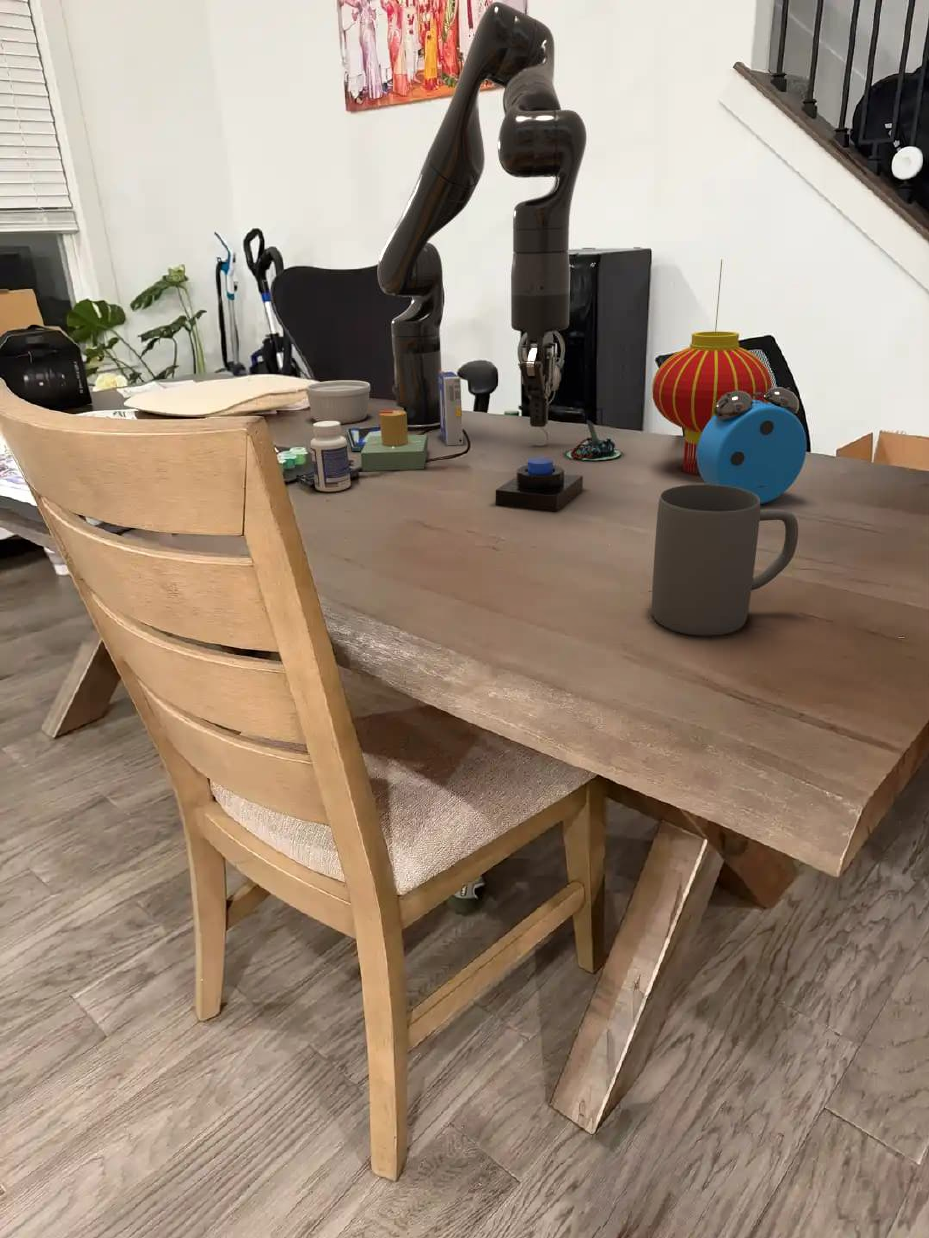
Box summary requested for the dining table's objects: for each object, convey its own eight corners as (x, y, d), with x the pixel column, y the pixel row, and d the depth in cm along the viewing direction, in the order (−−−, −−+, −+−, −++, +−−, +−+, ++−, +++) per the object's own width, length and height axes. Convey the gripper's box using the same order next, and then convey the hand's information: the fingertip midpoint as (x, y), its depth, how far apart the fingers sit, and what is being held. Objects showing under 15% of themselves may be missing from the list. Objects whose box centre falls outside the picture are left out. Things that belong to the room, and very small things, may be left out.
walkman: (440, 436, 158) (437, 370, 153) (455, 435, 158) (452, 369, 153) (447, 446, 151) (444, 377, 146) (463, 444, 151) (460, 376, 146)
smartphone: (352, 447, 148) (346, 428, 162) (352, 453, 149) (346, 433, 162) (393, 444, 150) (384, 425, 163) (394, 449, 150) (385, 430, 163)
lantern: (784, 468, 129) (811, 256, 117) (715, 491, 120) (737, 263, 107) (693, 450, 142) (709, 256, 129) (624, 470, 132) (633, 262, 119)
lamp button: (533, 468, 121) (532, 456, 120) (556, 470, 119) (556, 458, 118) (523, 475, 118) (523, 462, 117) (547, 477, 116) (547, 464, 116)
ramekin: (377, 412, 182) (375, 379, 179) (365, 425, 170) (363, 390, 167) (317, 413, 183) (314, 380, 180) (301, 426, 171) (297, 391, 168)
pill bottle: (357, 484, 130) (351, 420, 125) (338, 494, 125) (332, 428, 121) (328, 481, 132) (321, 418, 128) (308, 490, 127) (300, 426, 123)
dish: (612, 447, 135) (588, 414, 138) (578, 476, 138) (556, 443, 141) (632, 460, 142) (609, 428, 145) (599, 488, 145) (577, 456, 148)
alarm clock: (776, 490, 119) (789, 381, 113) (801, 502, 114) (817, 389, 108) (691, 499, 117) (700, 389, 110) (713, 512, 111) (724, 396, 105)
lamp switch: (525, 484, 126) (525, 458, 125) (582, 490, 123) (583, 463, 121) (495, 505, 117) (495, 477, 116) (556, 512, 114) (556, 483, 112)
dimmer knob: (409, 439, 143) (407, 408, 140) (406, 445, 139) (404, 413, 136) (383, 440, 143) (381, 408, 141) (380, 446, 139) (377, 414, 137)
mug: (669, 641, 77) (679, 515, 72) (638, 602, 86) (644, 487, 81) (810, 628, 79) (829, 504, 74) (765, 591, 87) (780, 477, 82)
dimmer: (370, 453, 148) (369, 435, 146) (427, 451, 147) (426, 433, 146) (362, 471, 137) (360, 451, 135) (423, 469, 137) (422, 450, 135)
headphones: (559, 441, 151) (560, 324, 143) (567, 446, 148) (569, 326, 139) (515, 445, 149) (514, 327, 141) (522, 450, 146) (521, 329, 138)
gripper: (560, 294, 102) (557, 437, 109) (577, 286, 113) (574, 416, 121) (499, 295, 104) (501, 435, 111) (522, 287, 115) (522, 415, 122)
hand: (539, 425), depth 116 cm, fingers closed
